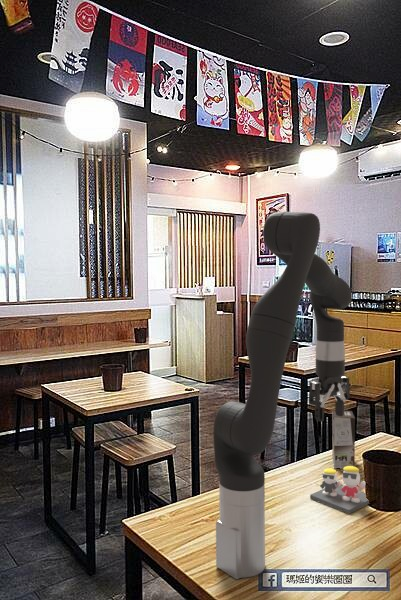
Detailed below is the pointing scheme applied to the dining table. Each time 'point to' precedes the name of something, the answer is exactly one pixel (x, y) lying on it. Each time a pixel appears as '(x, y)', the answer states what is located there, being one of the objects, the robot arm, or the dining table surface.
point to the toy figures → (350, 480)
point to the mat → (340, 500)
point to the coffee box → (343, 439)
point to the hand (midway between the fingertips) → (329, 418)
